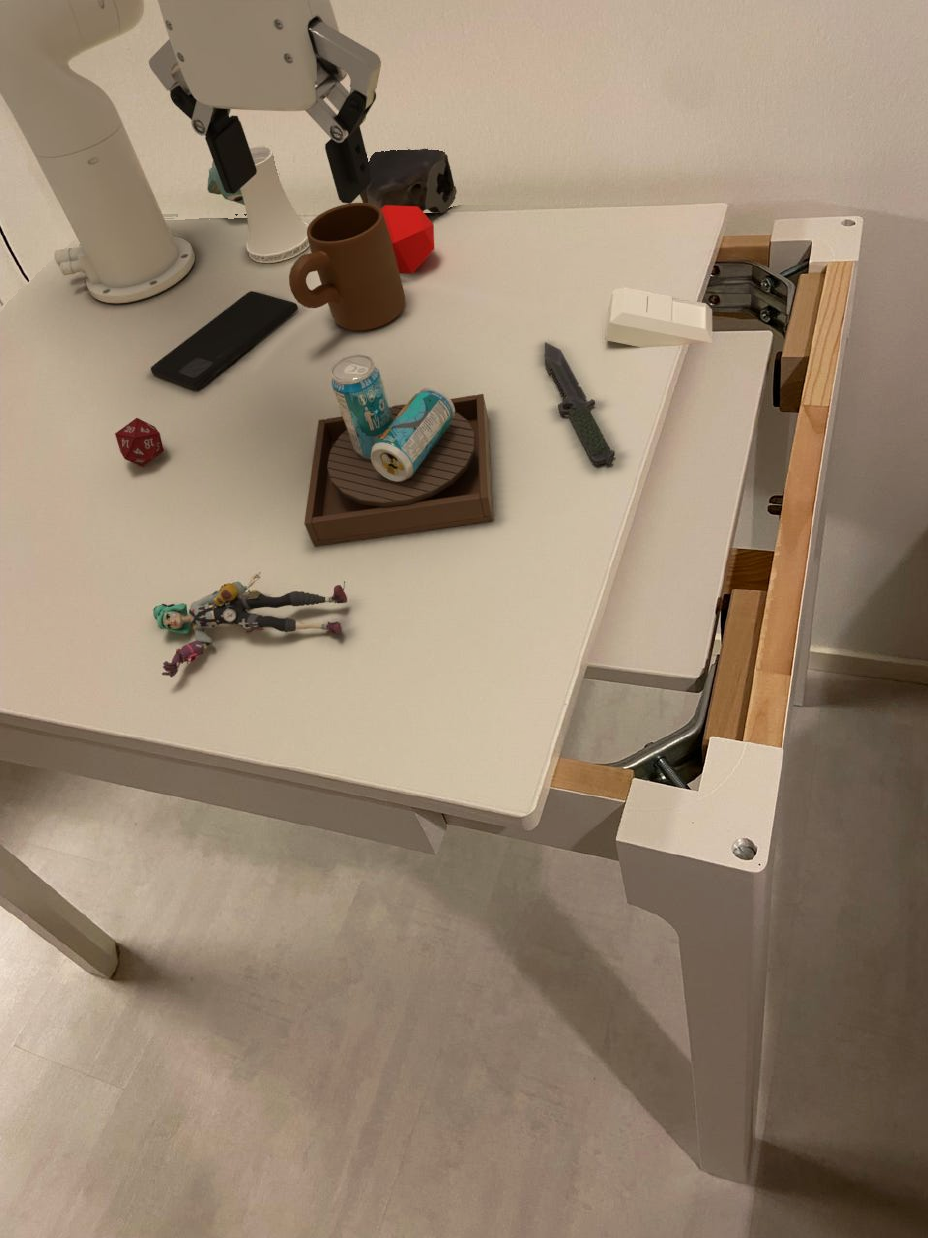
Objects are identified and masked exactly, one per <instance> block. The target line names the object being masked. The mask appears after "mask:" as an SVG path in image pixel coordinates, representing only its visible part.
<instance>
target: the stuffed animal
mask: <svg viewBox="0 0 928 1238" xmlns="http://www.w3.org/2000/svg"><path fill="white" fill-rule="evenodd" d="M206 190H207V192H208V193H210V194H213V195H221V196H222V197H223V198H224V200H226V201H230V202H234V203H237V204H240V205H243V206H245V203H244V200H243V196H242V193H241V190H240V189H239V190H238V191H237V192H236V193H234V194H231V193H226V192H225V190H224V188H223V185H222V182H221V180H220V177H219V174H218V172H217V169H216V166H215V164H214V161H213V160H212V163H211V168H209V169H208V177H207V188H206Z"/></svg>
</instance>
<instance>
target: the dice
mask: <svg viewBox="0 0 928 1238" xmlns="http://www.w3.org/2000/svg"><path fill="white" fill-rule="evenodd" d="M114 436H115V439H116V442H117V445H118V449H119V452H120V454H121V455H122V457H123V459H124V461H125V460H126V461H128V462H130V463H131V464H134V465H136V466H139V467H141V468H144V467H146V466H147V465H148V464H150V463H151V462H152V461H153V460H155V459H156V458H157V457H159V456H160V455H161V454H163V453H164V452H165V449H164V446H163V440H162V437H161V433H160V431H159V429H157V427H156V426H154V425H152V424H151V423H148V422H146V421H145V420H143V419H140V418H138V417H135V418H134V419H133V420H132V421H130V422H129V423H127V424H126V425H125V426H123V427H122V428H121V429H119V430H118V431H117V432H114Z"/></svg>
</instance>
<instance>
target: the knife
mask: <svg viewBox="0 0 928 1238" xmlns="http://www.w3.org/2000/svg"><path fill="white" fill-rule="evenodd" d="M544 366H545V368H546V370H547V372H548V373H549V375H550V376H551V377H550V378H552V380H553V382H554V384H555V385H556V386H555V388H556V387H557V388H556V389H557V390H558V392H559V395H560V394H561V395H560V397H562V402H560V403H559V404H558V405H557V409H558V412H559V414H560V415H561V416H565V417H567V416H568V417H569V419H570V421H571V423H572V426H573V427H574V430H575V432H576V433H577V435H578V437H579V439H580V441H581V443H582V446H583V448H584V449H585V451H586V453H587V455H588V456H589V459H590V460H591V461H590V462H591V463H592V464H593V465H595V466H599V465H603V464H607V465H609V464H611V463H612V462H613V461H614V459H613V458H614V457H615V450H613V449H611V448H610V446H609V444H608V442H607V441H606V439H605V437H604V434H603V433H602V431H601V429H600V426H599V425H598V423H597V421H596V420H595V418H594V416H593V414H592V412H591V410H590V408H592V407H593V406H595V405H596V400H594V399H592V398H591V399H590V400H587V401H584V400H585V399H587V396H586V394H585V392H584V390H583V388H582V387H581V386H579V385H580V383H579V381H578V379H577V377H576V376H575V373H574V372H573V370H572V368H571V366H570V364H569V363H568V361H567V359H566V357H565V355H564V354H563V352H562V350H561V349H560V348H558V347H556V346H554V345H552V344H550V343H548V342H546V341H545V342H544ZM566 408H569V409H566Z"/></svg>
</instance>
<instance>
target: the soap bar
mask: <svg viewBox="0 0 928 1238" xmlns="http://www.w3.org/2000/svg"><path fill="white" fill-rule="evenodd" d="M610 296H611V297H610V299H609V300H610V301H609V303H608V307H607V316H606V325H605V335H604V341H608V342H612V343H618V344H621V345H622V344H623V345H628V346H633V347H638V348H650V347H651V348H652V347H668V346H684V345H700V344H701V345H702V344H712V343H713V309H712V308H711V307H710V306H709V305H708V304H707V303H705V302H700V301H695V300H691V299H686V298H681V297H676V296H671V295H666V294H661V293H656V292H651V291H645V290H640V289H637V288H630V287H625V286H624V287H619V288H616V289H613V290H612V293H611V295H610Z"/></svg>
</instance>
